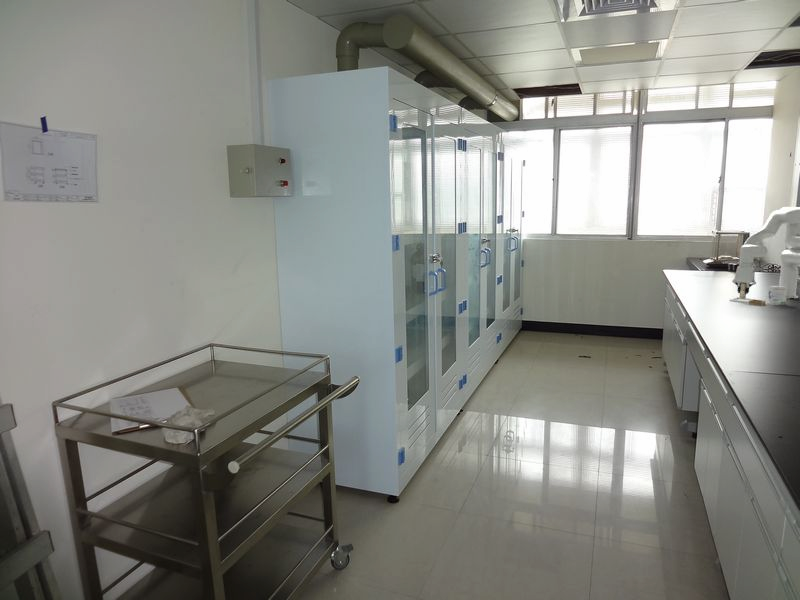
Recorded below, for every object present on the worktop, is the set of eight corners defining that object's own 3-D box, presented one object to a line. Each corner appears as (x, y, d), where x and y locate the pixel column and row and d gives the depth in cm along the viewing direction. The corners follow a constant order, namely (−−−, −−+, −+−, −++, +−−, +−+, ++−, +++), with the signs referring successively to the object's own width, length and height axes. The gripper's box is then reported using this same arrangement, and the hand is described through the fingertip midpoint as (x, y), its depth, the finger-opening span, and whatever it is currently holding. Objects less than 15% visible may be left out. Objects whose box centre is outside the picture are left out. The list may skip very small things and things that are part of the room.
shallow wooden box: (752, 303, 343) (752, 299, 342) (765, 305, 338) (765, 300, 337) (748, 305, 338) (749, 300, 338) (761, 306, 333) (762, 302, 333)
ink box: (771, 305, 336) (773, 287, 334) (766, 304, 341) (768, 285, 339) (786, 305, 335) (788, 286, 333) (781, 304, 340) (783, 285, 338)
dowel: (740, 297, 351) (741, 282, 349) (746, 298, 349) (747, 282, 347) (738, 298, 349) (740, 282, 347) (744, 298, 347) (746, 283, 345)
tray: (735, 299, 357) (736, 297, 357) (754, 301, 349) (755, 299, 349) (729, 301, 350) (729, 299, 349) (748, 304, 341) (748, 301, 341)
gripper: (762, 265, 341) (759, 294, 345) (733, 263, 354) (730, 291, 357) (758, 266, 336) (755, 295, 340) (729, 264, 349) (726, 292, 352)
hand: (742, 293), depth 348 cm, fingers closed on dowel, 3 cm apart
